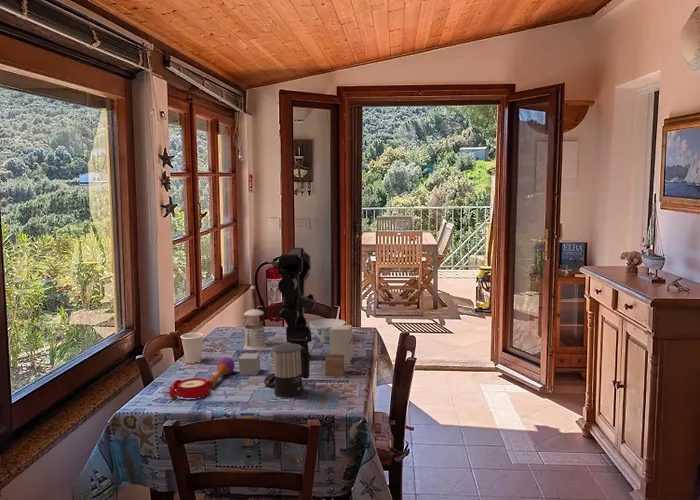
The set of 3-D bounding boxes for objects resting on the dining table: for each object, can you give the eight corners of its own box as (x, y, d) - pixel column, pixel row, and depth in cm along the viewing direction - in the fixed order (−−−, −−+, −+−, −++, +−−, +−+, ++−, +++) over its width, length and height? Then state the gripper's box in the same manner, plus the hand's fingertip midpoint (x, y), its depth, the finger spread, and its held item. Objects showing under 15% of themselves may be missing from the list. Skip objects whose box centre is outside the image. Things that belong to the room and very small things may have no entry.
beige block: (243, 370, 218) (242, 353, 218) (260, 370, 218) (259, 353, 217) (239, 375, 212) (238, 358, 212) (256, 375, 212) (256, 358, 211)
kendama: (197, 378, 198) (218, 356, 218) (202, 395, 199) (222, 371, 219) (214, 375, 197) (234, 353, 217) (219, 392, 198) (238, 368, 218)
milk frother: (295, 399, 188) (293, 352, 186) (250, 394, 193) (248, 348, 191) (314, 384, 201) (312, 340, 199) (270, 380, 206) (269, 337, 205)
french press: (272, 344, 251) (269, 284, 248) (253, 351, 241) (250, 289, 239) (254, 342, 256) (251, 283, 254) (234, 348, 247) (231, 287, 244)
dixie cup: (184, 365, 225) (182, 339, 224) (180, 359, 233) (178, 334, 232) (206, 362, 229) (205, 336, 228) (202, 356, 236) (201, 331, 235)
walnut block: (327, 371, 215) (326, 354, 214) (344, 370, 214) (343, 354, 214) (325, 376, 209) (324, 359, 208) (343, 376, 209) (342, 359, 208)
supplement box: (349, 363, 222) (348, 329, 221) (329, 363, 224) (328, 329, 222) (353, 358, 229) (352, 325, 228) (334, 357, 231) (333, 324, 230)
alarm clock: (209, 388, 189) (161, 380, 188) (206, 408, 189) (157, 399, 189) (215, 378, 199) (169, 369, 198) (212, 396, 200) (166, 388, 199)
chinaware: (313, 336, 263) (313, 318, 263) (348, 336, 261) (348, 318, 260) (306, 345, 249) (306, 327, 248) (343, 346, 247) (342, 327, 246)
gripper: (310, 293, 205) (312, 339, 207) (316, 284, 224) (318, 326, 226) (277, 294, 206) (279, 339, 208) (286, 285, 225) (288, 326, 226)
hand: (292, 332), depth 217 cm, fingers closed
